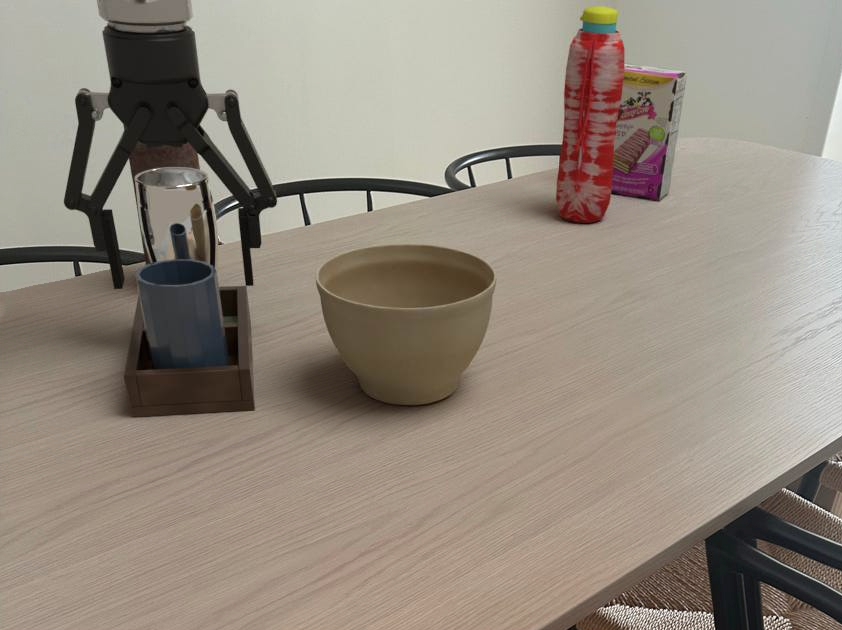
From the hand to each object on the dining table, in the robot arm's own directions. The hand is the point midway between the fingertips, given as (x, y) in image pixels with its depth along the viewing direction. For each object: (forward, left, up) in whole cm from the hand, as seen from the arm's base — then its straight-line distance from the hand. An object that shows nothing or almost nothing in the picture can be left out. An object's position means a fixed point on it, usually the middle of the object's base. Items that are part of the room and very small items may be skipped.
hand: (185, 282), depth 97 cm
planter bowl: (+20, -12, -7) cm, 24 cm away
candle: (-2, +17, -7) cm, 18 cm away
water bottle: (+52, +39, -7) cm, 66 cm away
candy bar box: (+62, +49, -7) cm, 80 cm away
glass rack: (0, -5, -6) cm, 8 cm away
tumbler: (0, -10, -5) cm, 12 cm away
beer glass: (0, 0, -5) cm, 5 cm away
